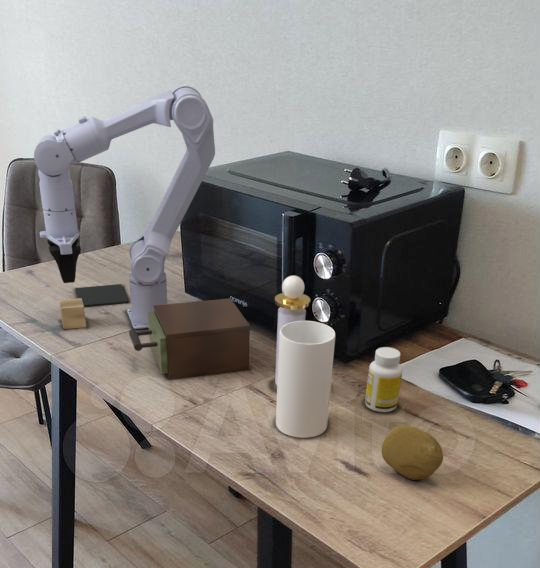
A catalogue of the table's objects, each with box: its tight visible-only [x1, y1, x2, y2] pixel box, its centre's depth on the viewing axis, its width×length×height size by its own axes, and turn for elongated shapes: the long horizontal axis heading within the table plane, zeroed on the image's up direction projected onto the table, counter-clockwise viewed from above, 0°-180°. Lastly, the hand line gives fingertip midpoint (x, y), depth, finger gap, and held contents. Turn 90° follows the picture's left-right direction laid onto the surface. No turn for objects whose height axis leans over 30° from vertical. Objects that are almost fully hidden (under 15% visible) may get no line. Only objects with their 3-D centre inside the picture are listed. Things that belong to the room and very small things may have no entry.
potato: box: [381, 425, 444, 481], centre depth 99 cm, size 7×8×8 cm
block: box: [58, 297, 87, 330], centre depth 139 cm, size 4×4×4 cm
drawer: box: [128, 312, 168, 375], centre depth 126 cm, size 18×11×7 cm, turn 108°
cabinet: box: [153, 297, 251, 380], centre depth 127 cm, size 15×13×9 cm
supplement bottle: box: [364, 346, 403, 413], centre depth 115 cm, size 5×5×10 cm
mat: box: [74, 283, 129, 308], centre depth 152 cm, size 10×10×1 cm
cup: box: [275, 320, 336, 439], centre depth 108 cm, size 8×8×16 cm
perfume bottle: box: [273, 275, 311, 386], centre depth 117 cm, size 6×6×20 cm
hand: (68, 278), depth 135 cm, fingers open, 3 cm apart
